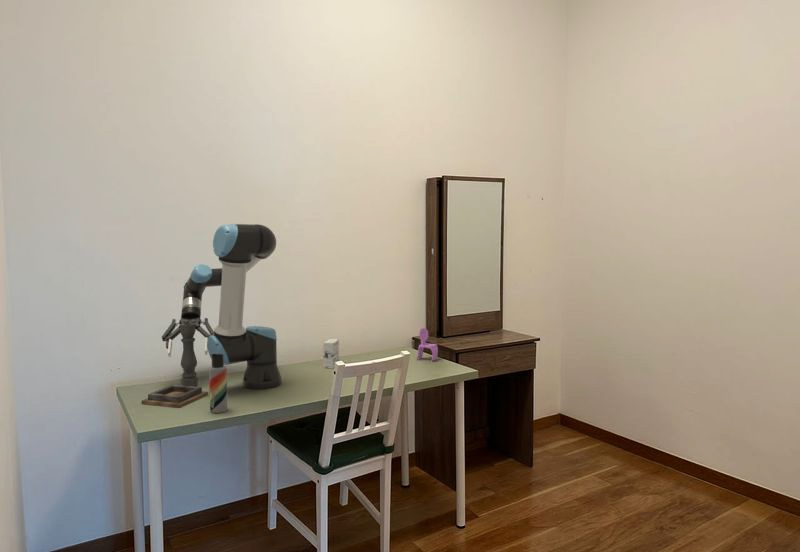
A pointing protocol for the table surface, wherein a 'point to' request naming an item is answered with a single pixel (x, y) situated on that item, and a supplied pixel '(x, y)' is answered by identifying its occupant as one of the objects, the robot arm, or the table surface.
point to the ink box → (331, 352)
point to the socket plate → (175, 396)
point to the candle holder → (188, 355)
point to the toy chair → (426, 345)
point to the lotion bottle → (218, 384)
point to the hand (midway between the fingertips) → (187, 354)
